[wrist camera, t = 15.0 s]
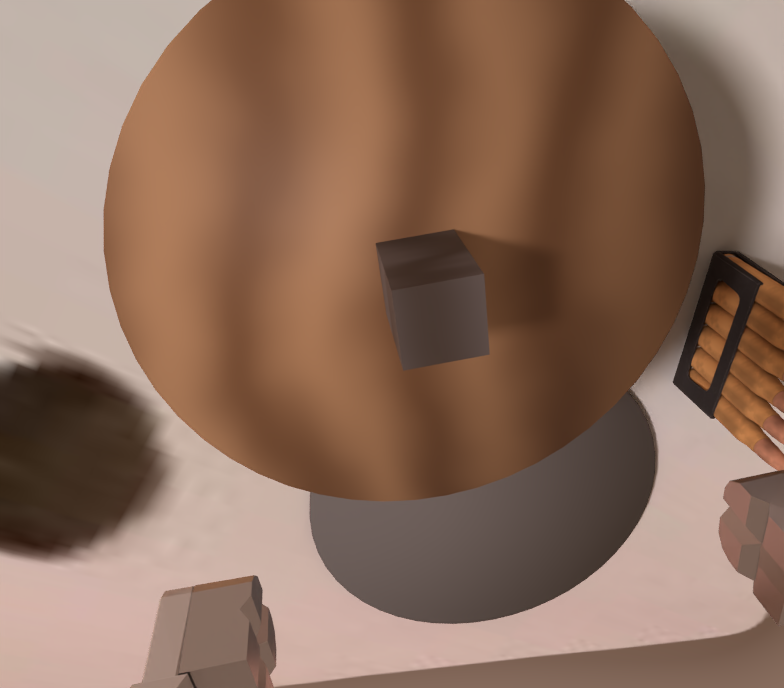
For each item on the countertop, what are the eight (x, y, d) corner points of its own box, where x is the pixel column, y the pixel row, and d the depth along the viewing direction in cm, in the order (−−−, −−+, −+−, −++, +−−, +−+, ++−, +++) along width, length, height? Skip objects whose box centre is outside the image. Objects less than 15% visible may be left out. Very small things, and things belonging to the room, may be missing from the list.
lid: (723, -127, 24) (844, -158, 19) (670, 438, 37) (733, 513, 32) (0, -19, 23) (-87, -21, 17) (205, 529, 35) (191, 624, 30)
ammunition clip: (714, 250, 45) (842, 330, 35) (738, 250, 45) (872, 330, 35) (672, 383, 50) (773, 488, 40) (694, 383, 50) (800, 486, 40)
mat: (666, 315, 47) (670, 319, 47) (639, 584, 61) (642, 589, 60) (276, 382, 45) (276, 387, 45) (339, 644, 59) (340, 649, 58)
